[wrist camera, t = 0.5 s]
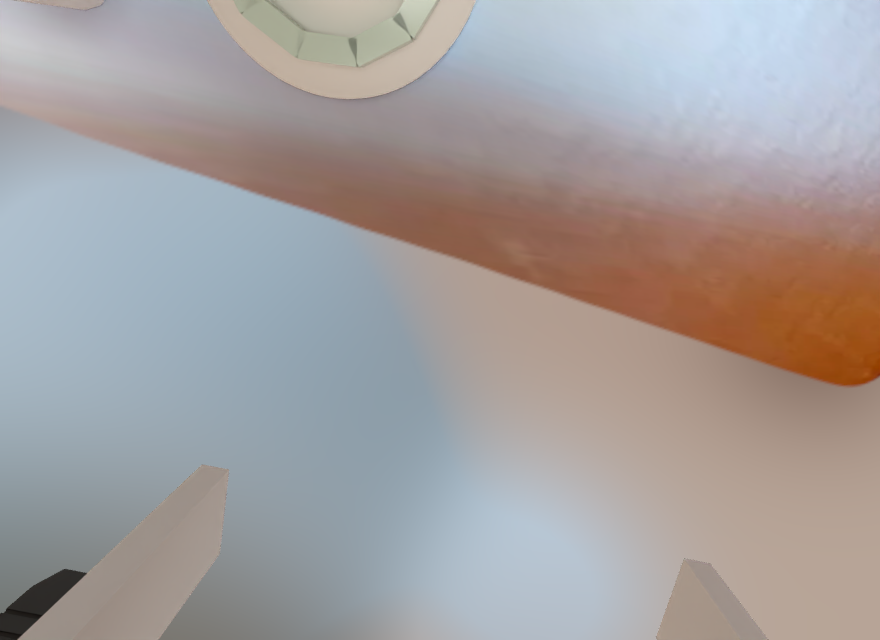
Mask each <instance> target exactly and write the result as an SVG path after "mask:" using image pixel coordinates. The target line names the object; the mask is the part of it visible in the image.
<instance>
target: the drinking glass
mask: <svg viewBox="0 0 880 640" xmlns="http://www.w3.org/2000/svg"><path fill="white" fill-rule="evenodd" d="M16 1H23V2H30V3H37V4H45V5H52V6H59V7H66V8H73V9H81V10H88V9H91V8H94V7H97V6H100V5H101V4H102V3H103V2H104V1H105V0H16Z"/></svg>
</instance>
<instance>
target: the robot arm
mask: <svg viewBox="0 0 880 640" xmlns="http://www.w3.org/2000/svg"><path fill="white" fill-rule="evenodd" d="M228 474H229V470H228V469H223V468H218V467H212V466H207V465H201V466H200V467H199V468H198V469H197V470H196V471H195V472H194V473H193V474H192V475H191V476H189V477H188V478H187V479H186V480H185V481H184V482H183V483H182V484H181V485H180V486H179V487H178V488H177V489H176V490H175V491H174V492H173V493H172V494H170V495H169V496H168V497H167V498H166V499H165V500H164V501H163V502H162V503H161V504H160V505H159V506H158V507H157V508H156V509H155V510H154V511H153V512H152V513H151V514H149V515H148V516H147V517H146V518H145V519H144V520H143V521H142V522H141V523H140V524H139V525H138V526H137V527H136V528H135V529H134V530H133V531H132V532H131V533H129V534H128V535H127V536H126V537H125V538H124V539H123V540H122V541H121V542H120V543H119V544H118V545H117V546H116V547H115V548H114V549H112V551H110V552H109V553H108V554H107V555H106V556H105V557H104V558H103V559H102V560H101V561H100V562H99V563H98V564H97V565H96V566H95V567H94V568H92V569H91V571H89V572H88V573H83V572H78V571H73V570H68V569H64V570H62V571H60V572H58V573H56V574H54V575H52V576H51V577H49V578H47V579H45V580H43V581H41V582H39V583H37V584H36V585H34V586H33V587H31V588H30V589H29V590H28V591H26V592H25V593H24V594H23V595H22V596H21V597H19V598H18V599H17V600H16V601H15V602H14V603H12V604H11V605H10V606H9V607H8V608H7V609H6V611H5V612H4V613H1V614H0V640H158V639H159V638H160V636H161V635H162V634H163V632H164V631H165V629H166V628H167V627H168V625H169V624H170V622H171V621H172V620H173V618H174V617H175V615H176V614H177V613H178V611H179V610H180V608H181V607H182V606H183V604H184V603H185V601H186V600H187V599H188V597H189V596H190V594H191V593H192V592H193V590H194V589H195V587H196V586H197V585H198V583H199V582H200V580H201V579H202V578H203V576H204V575H205V573H206V572H207V571H208V569H209V568H210V566H211V565H212V563H213V562H214V561H215V559H216V558H217V557H218V555H219V553H220V547H221V537H222V529H223V519H224V510H225V500H226V492H227V482H228ZM656 639H657V640H768V639H767V637H766V636H765V635H764V633H763V632H762V631H761V629H760V628H759V627H758V625H757V624H756V623H755V621H754V620H753V619H752V618H751V616H750V615H749V614H748V612H747V611H746V610H745V608H744V607H743V606H742V604H741V603H740V602H739V600H738V599H737V598H736V596H735V595H734V594H733V593H732V591H731V590H730V589H729V587H728V586H727V585H726V583H725V582H724V581H723V579H722V578H721V577H720V575H719V574H718V573H717V572H716V570H715V569H714V568H713V566H712V565H711V564H710V563H705V562H700V561H695V560H690V559H685V558H684V560H683V563H682V566H681V569H680V572H679V575H678V577H677V580H676V583H675V586H674V588H673V591H672V594H671V597H670V600H669V603H668V605H667V608H666V611H665V614H664V617H663V619H662V622H661V625H660V628H659V631H658V634H657V636H656Z"/></svg>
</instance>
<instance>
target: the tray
mask: <svg viewBox="0 0 880 640" xmlns="http://www.w3.org/2000/svg"><path fill="white" fill-rule="evenodd" d="M207 1H208V3H209V4H210V6H211V8H212V9H213V11H214V13H215V14H216V16H217V18H218V19H219V21H220V22H221V24H222V25H223V26H224V28H225V29H226V30H227V32H228V33H229V34H230V35H231V37H232V38H233V39H234V40H235V41H236V43H237V44H238V45H239V46H240V47H241V48H242V49H243V50H244V51H245V52H246V53H247V54H248V55H249V56H250V57H251V58H252V59H253V60H255V61H256V62H257V63H258V64H259V65H260V66H262V67H263V68H264V69H265V70H267V71H268V72H270V73H271V74H273V75H274V76H276V77H277V78H279V79H280V80H282V81H284V82H286V83H288V84H290V85H292V86H294V87H296V88H298V89H301V90H304V91H307V92H309V93H312V94H315V95H320V96H325V97H330V98H338V99H359V98H370V97H374V96H379V95H383V94H387V93H390V92H392V91H395V90H397V89H400V88H402V87H404V86H406V85H408V84H409V83H411V82H413V81H415V80H416V79H418V78H419V77H421V76H422V75H423V74H424V73H426V72H427V71H428V70H430V69H431V68H432V67H433V66H434V65H435V64H436V63H437V62H438V61H439V60H440V59H441V58H442V57H443V56H444V55H445V54H446V53H447V51H448V50H449V49H450V47H451V46H452V45H453V43H454V42H455V41H456V39H457V38H458V36H459V34H460V33H461V31H462V29H463V27H464V26H465V24H466V22H467V20H468V18H469V16H470V14H471V11H472V9H473V7H474V4H475V2H476V0H207Z"/></svg>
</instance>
